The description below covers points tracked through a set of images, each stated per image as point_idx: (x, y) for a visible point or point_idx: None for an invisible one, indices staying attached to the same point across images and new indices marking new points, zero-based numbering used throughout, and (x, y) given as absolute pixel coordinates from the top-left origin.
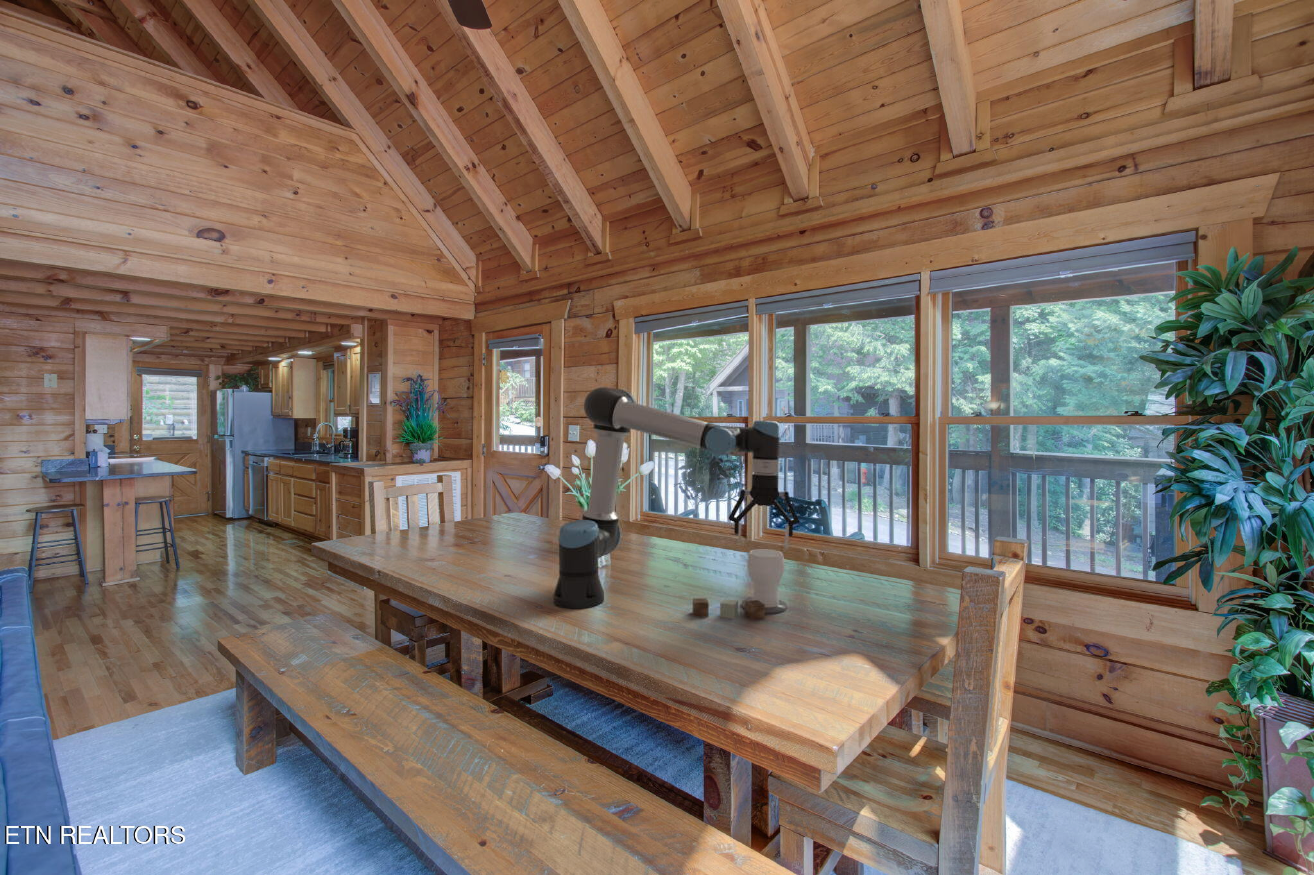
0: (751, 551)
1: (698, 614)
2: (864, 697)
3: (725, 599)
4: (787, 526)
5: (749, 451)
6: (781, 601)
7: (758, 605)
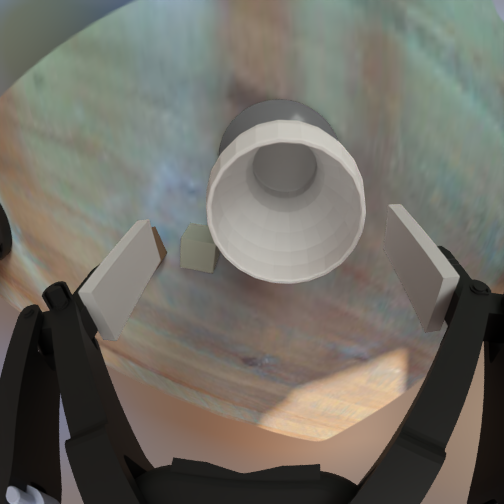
0: (212, 200)
1: None
2: (365, 411)
3: (184, 241)
4: (430, 329)
5: None
6: (328, 131)
7: None
